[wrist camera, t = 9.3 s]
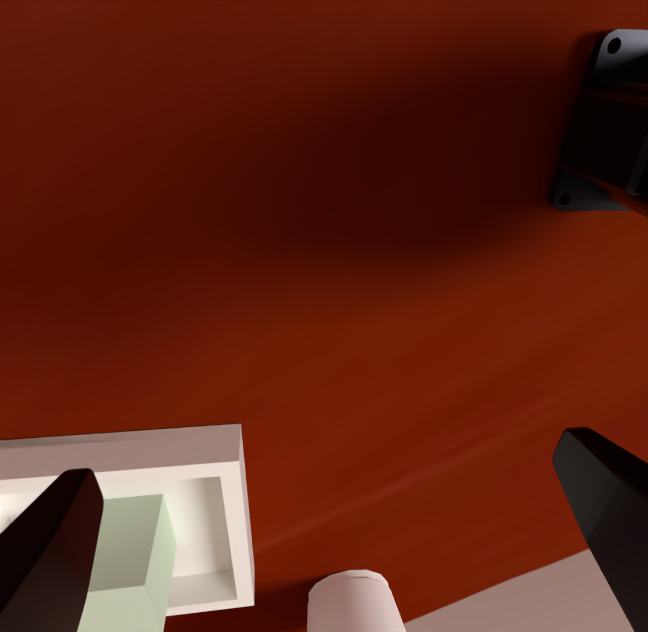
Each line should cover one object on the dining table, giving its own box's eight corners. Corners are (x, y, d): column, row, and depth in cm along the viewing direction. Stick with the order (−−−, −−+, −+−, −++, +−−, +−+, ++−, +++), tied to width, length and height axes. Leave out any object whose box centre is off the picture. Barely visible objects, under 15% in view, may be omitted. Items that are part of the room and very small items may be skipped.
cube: (163, 493, 25) (144, 585, 21) (177, 544, 28) (162, 635, 24) (69, 502, 24) (30, 598, 20) (92, 553, 27) (62, 648, 23)
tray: (240, 423, 24) (238, 461, 22) (254, 567, 31) (253, 605, 29) (-45, 443, 22) (-77, 486, 20) (41, 590, 29) (24, 633, 27)
